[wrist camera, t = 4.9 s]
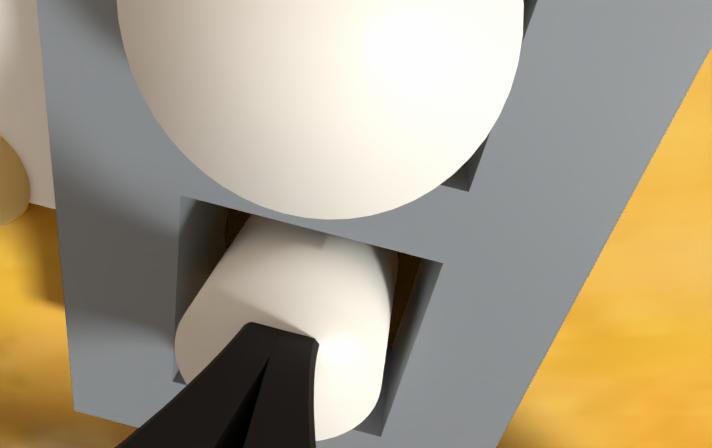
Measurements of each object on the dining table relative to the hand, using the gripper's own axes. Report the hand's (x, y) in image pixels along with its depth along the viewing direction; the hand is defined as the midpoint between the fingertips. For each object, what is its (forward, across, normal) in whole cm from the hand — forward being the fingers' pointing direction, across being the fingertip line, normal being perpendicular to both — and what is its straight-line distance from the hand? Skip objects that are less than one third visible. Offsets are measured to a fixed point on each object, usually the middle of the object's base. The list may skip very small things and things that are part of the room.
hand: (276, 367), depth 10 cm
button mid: (+2, 0, -7) cm, 7 cm away
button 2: (+4, 0, 0) cm, 4 cm away
